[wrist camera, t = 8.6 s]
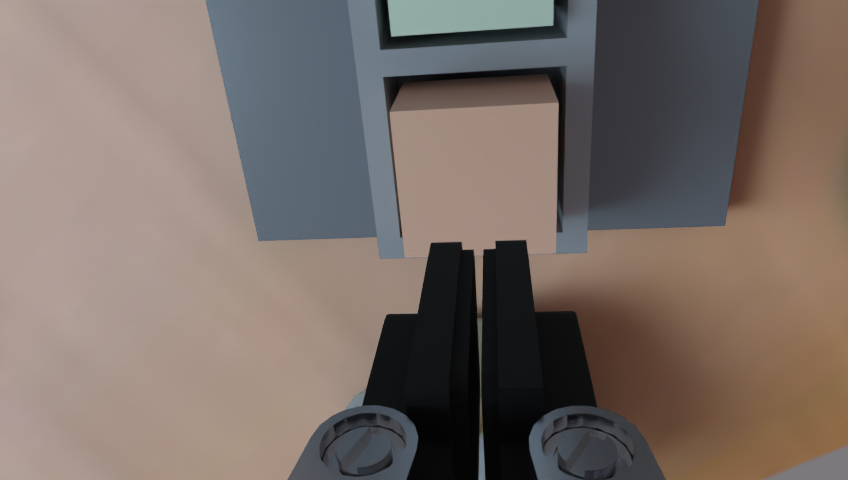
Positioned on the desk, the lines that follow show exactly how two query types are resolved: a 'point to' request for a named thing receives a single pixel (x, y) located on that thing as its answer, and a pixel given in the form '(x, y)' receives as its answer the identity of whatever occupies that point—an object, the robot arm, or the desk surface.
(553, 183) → the terracotta key
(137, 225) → the desk surface
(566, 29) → the keypad
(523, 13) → the sage key
